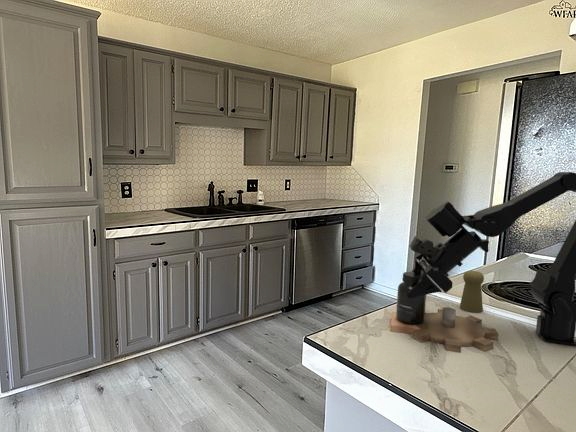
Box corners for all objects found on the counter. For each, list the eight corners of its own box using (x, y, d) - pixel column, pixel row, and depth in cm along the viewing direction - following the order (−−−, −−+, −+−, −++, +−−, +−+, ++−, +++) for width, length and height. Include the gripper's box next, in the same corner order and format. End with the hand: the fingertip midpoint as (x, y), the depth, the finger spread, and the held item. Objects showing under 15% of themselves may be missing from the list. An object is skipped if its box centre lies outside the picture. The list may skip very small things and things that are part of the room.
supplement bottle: (398, 324, 91) (400, 277, 89) (394, 314, 97) (396, 269, 96) (427, 326, 90) (430, 278, 88) (421, 315, 96) (423, 271, 95)
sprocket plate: (487, 320, 98) (488, 300, 97) (508, 359, 78) (510, 334, 77) (392, 309, 105) (393, 290, 104) (389, 342, 85) (390, 319, 84)
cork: (487, 313, 102) (490, 274, 101) (465, 313, 103) (468, 274, 101) (476, 305, 108) (479, 268, 107) (455, 305, 109) (458, 268, 107)
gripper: (424, 221, 99) (380, 259, 102) (439, 232, 80) (385, 278, 84) (454, 251, 98) (409, 288, 102) (476, 269, 80) (420, 314, 83)
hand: (405, 291), depth 93 cm, fingers open, 8 cm apart
